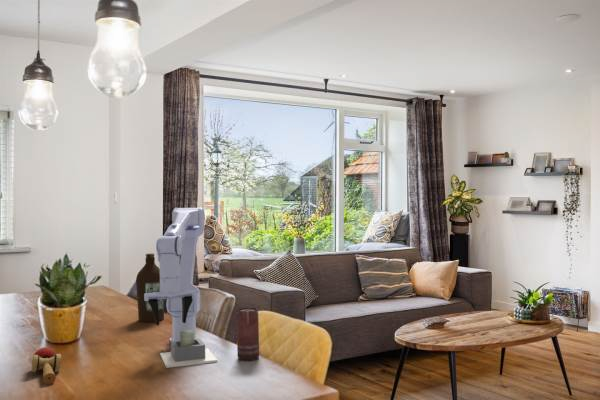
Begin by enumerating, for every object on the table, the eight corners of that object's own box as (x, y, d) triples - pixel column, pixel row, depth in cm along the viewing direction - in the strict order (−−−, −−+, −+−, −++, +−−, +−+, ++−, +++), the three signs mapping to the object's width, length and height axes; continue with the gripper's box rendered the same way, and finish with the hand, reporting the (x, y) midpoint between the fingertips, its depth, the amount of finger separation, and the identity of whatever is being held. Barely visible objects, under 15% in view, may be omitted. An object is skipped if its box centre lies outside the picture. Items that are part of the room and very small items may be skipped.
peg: (179, 355, 172) (179, 330, 171) (193, 353, 173) (193, 329, 173) (181, 359, 168) (181, 334, 168) (195, 357, 169) (195, 333, 169)
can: (239, 362, 165) (238, 312, 165) (236, 356, 172) (235, 308, 171) (261, 360, 167) (260, 310, 167) (256, 354, 173) (255, 306, 173)
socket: (160, 355, 175) (159, 340, 175) (207, 350, 179) (207, 335, 179) (166, 367, 161) (166, 351, 161) (217, 362, 166) (216, 346, 166)
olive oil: (132, 319, 227) (131, 253, 226) (159, 315, 233) (157, 251, 233) (143, 324, 218) (141, 255, 218) (170, 320, 224) (168, 253, 224)
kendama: (69, 386, 152) (61, 359, 168) (64, 363, 151) (56, 339, 166) (37, 396, 149) (31, 368, 164) (31, 373, 147) (26, 347, 163)
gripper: (145, 280, 167) (146, 328, 167) (197, 277, 172) (198, 323, 172) (143, 277, 174) (144, 323, 174) (192, 274, 179) (193, 319, 179)
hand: (170, 323), depth 174 cm, fingers open, 7 cm apart
